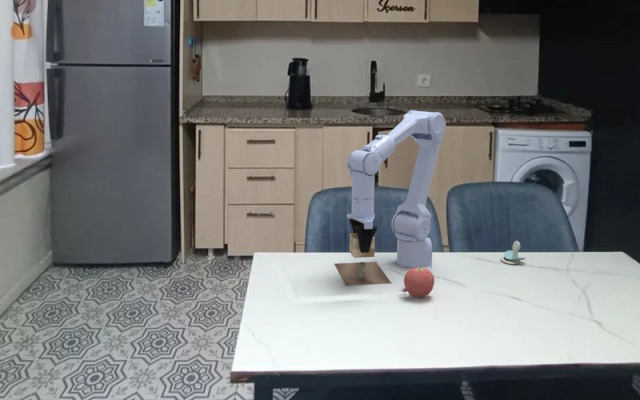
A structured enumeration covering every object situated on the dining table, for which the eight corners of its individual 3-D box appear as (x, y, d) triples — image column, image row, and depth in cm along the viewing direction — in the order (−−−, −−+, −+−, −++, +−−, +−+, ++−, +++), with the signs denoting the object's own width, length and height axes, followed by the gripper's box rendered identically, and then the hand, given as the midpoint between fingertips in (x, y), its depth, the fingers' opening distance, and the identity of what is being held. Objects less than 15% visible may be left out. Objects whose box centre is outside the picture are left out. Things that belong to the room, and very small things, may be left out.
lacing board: (375, 266, 191) (376, 246, 190) (391, 288, 174) (392, 266, 172) (334, 268, 189) (334, 248, 188) (345, 291, 172) (345, 268, 171)
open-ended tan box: (369, 250, 178) (370, 232, 176) (374, 256, 172) (374, 238, 171) (349, 251, 177) (349, 233, 176) (353, 257, 172) (353, 239, 171)
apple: (410, 289, 173) (411, 259, 172) (437, 294, 170) (439, 264, 168) (398, 298, 167) (399, 267, 165) (426, 303, 163) (427, 272, 162)
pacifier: (507, 266, 192) (527, 265, 193) (508, 245, 190) (528, 244, 191) (496, 259, 199) (515, 257, 200) (497, 238, 197) (516, 237, 198)
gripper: (342, 192, 178) (342, 241, 181) (353, 204, 164) (352, 258, 167) (368, 191, 179) (367, 240, 182) (381, 203, 165) (380, 256, 168)
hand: (362, 248), depth 174 cm, fingers closed on open-ended tan box, 5 cm apart
